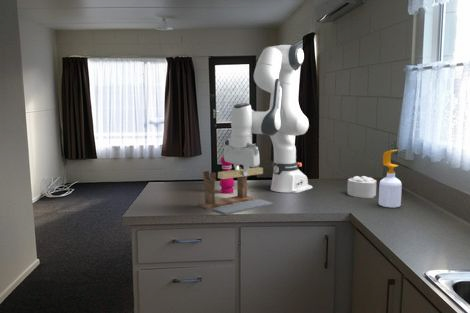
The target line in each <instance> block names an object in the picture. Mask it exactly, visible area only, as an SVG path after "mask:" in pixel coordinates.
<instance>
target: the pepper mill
mask: <svg viewBox="0 0 470 313" xmlns="http://www.w3.org/2000/svg"><path fill="white" fill-rule="evenodd" d="M220 163H221V169H222V172H223V171H231V170H232V168H233V167H232V164H233V163H230V162H225V160H224V155H223V156H222V157H221V159H220ZM219 186H220V187H221V188H220V194H221V193H222V194H225V195H226V194H232V193H234V188H233V187H234V186H235V180H234V178H227V179H220V181H219Z"/></svg>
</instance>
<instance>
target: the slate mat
mask: <svg viewBox="0 0 470 313" xmlns="http://www.w3.org/2000/svg"><path fill="white" fill-rule="evenodd" d="M273 205H274V202H272V201H267V200H265V199H260V198H259V199H253V200H251V201H246V202H241V203H236V204H231V205H226V206H221V207H215V208H212V211H214V212H217V213H219V214H223V215H225V216H226V215H231V214H235V213H241V212H245V211H250V210H251V211H252V210H255V209H259V208H260V209H261V208H265V207H268V206H273Z"/></svg>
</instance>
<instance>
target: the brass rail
mask: <svg viewBox="0 0 470 313" xmlns="http://www.w3.org/2000/svg"><path fill="white" fill-rule="evenodd" d="M243 170H244V168H241V169H239V170H235V169H231V171H223V170H222V171H218V172H217V179H220V180H221V179H227V178H233V179H234V178H237V177H242V176H243V175H242V171H243ZM263 174H264V168H263V167H260V166H258V167H249V169H248V171H247V177H250V176H257V175H263Z"/></svg>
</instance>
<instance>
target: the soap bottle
mask: <svg viewBox="0 0 470 313" xmlns="http://www.w3.org/2000/svg"><path fill="white" fill-rule="evenodd" d="M397 151H398V149H390V150H387V151H385V152H384V153H383V156H382V164H383V166H385V167H387V168H388V170H387V171H386V176H385V177H384V178H382V179H381V180H380V181H379V185H378V186H379V189H378V205H379V206H380V207H384V208H388V209H389V208H390V209H391V208H395V209H396V208H399V207H401V205H402V204H401V203H402V190H403V189H402V186H403V184H402V181H401V180H400V179H399V178H397V177H396V171H394V169H395V168H397V167H399V165H398V164H393V163H391V156H392V153H393V152H397Z"/></svg>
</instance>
